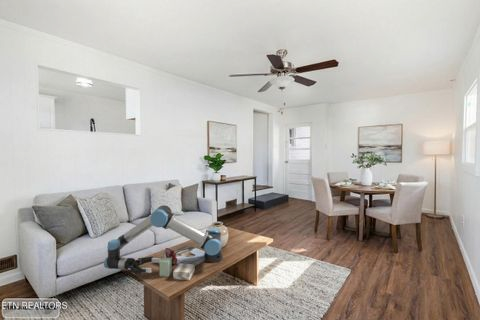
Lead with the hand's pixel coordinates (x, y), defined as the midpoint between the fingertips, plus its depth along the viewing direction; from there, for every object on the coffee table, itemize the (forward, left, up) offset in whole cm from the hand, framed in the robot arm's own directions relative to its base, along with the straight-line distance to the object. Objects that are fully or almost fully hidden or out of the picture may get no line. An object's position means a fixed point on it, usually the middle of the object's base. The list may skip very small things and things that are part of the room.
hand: (156, 265), depth 160 cm
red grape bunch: (-4, -15, -6) cm, 17 cm away
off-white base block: (-20, 0, -6) cm, 21 cm away
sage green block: (-7, 0, -6) cm, 9 cm away
